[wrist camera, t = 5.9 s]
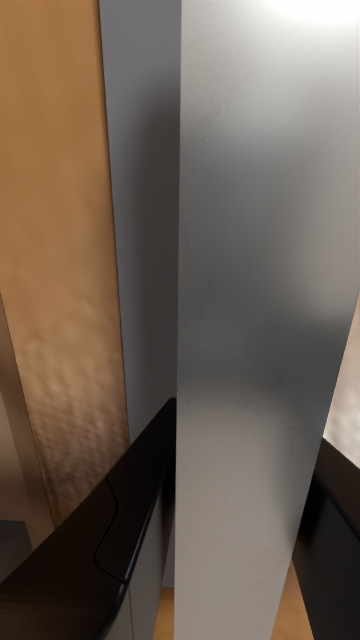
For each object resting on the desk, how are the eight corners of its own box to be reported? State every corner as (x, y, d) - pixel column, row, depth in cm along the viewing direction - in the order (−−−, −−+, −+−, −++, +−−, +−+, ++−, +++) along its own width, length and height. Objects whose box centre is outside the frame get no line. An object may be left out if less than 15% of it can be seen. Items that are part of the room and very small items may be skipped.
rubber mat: (266, 581, 17) (269, 595, 16) (141, 572, 17) (139, 585, 17) (452, -273, 6) (477, -320, 5) (89, -251, 6) (78, -296, 6)
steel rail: (236, 641, 12) (244, 739, 10) (177, 636, 12) (172, 732, 10) (391, -264, 4) (676, -929, 2) (195, -254, 4) (191, -856, 2)
